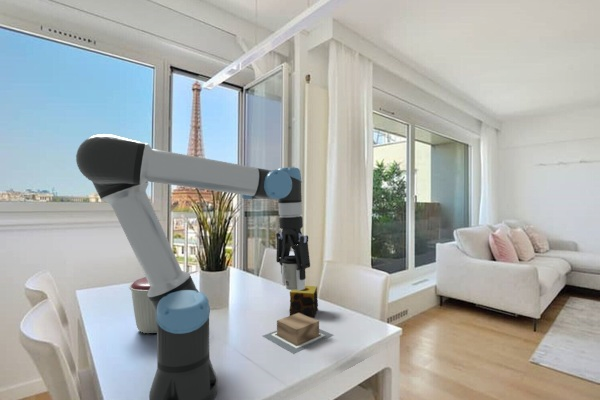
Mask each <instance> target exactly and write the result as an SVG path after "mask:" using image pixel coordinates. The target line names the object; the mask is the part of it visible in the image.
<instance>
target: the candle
mask: <svg viewBox="0 0 600 400" xmlns="http://www.w3.org/2000/svg"><path fill="white" fill-rule="evenodd" d="M289 296H290V298H289V299H290V300H289V303H290V304H289V311H288V312H289V316H291V315H294V314H297V313H301V314H303V315H306V316H308V317H311V318H313V319H315V317H316V315H317V313H318V311H319V309H318V308H319V307H318V306H319V302H318V301H319V300H318V285H317V286H316V285H305V289H303V290H300V291H298V290H297V289H296V290H289Z"/></svg>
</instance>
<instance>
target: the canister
mask: <svg viewBox="0 0 600 400" xmlns="http://www.w3.org/2000/svg"><path fill="white" fill-rule="evenodd" d="M128 288H129V290H130V291H131V298H132V306H133V314H134V319H135V325H136V328H137V330H138V331H139V332H140V331H141V332H140V333H142V332H143V333H142V334H145V333H157V321H156V312H155V310H154V308H153V306H152V303H151V301H150V299H149V297H148V295H147V294H148V291H149V289H150V284H149V282H148V280H147V278H146V276H144V277H141V278H138V279H136V280H135V281H133V282H132V283H130V284H129V286H128Z"/></svg>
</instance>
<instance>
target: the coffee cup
mask: <svg viewBox="0 0 600 400" xmlns="http://www.w3.org/2000/svg"><path fill="white" fill-rule="evenodd" d="M282 265H283V271H284V278H285V284H286V285H285V289H286V290H289V291H291V290H296V289H297V276H296V269H297V268H298V266H297V262H296V258H295V254H292V255H290V254H289V256H285V259H283V260H282ZM301 265H302V264H301Z"/></svg>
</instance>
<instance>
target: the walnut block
mask: <svg viewBox="0 0 600 400" xmlns="http://www.w3.org/2000/svg"><path fill="white" fill-rule="evenodd" d="M319 329H320V321H319V320H318V319H315V318H312V317H308V316H306V315H303V314H301V313H297V314H294V315H291V316H290V315H288V316H285V317H282V318H280V319H277V320H276V331H277V335H278V336H279V337H281V338H283V339H285V340H287V341H289V342H291V343H293V344H295V345H296V346H297V345H300V344H302V343H304V342H306V341H309V340H311V339H313V338H315V337H318V336H319Z"/></svg>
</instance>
